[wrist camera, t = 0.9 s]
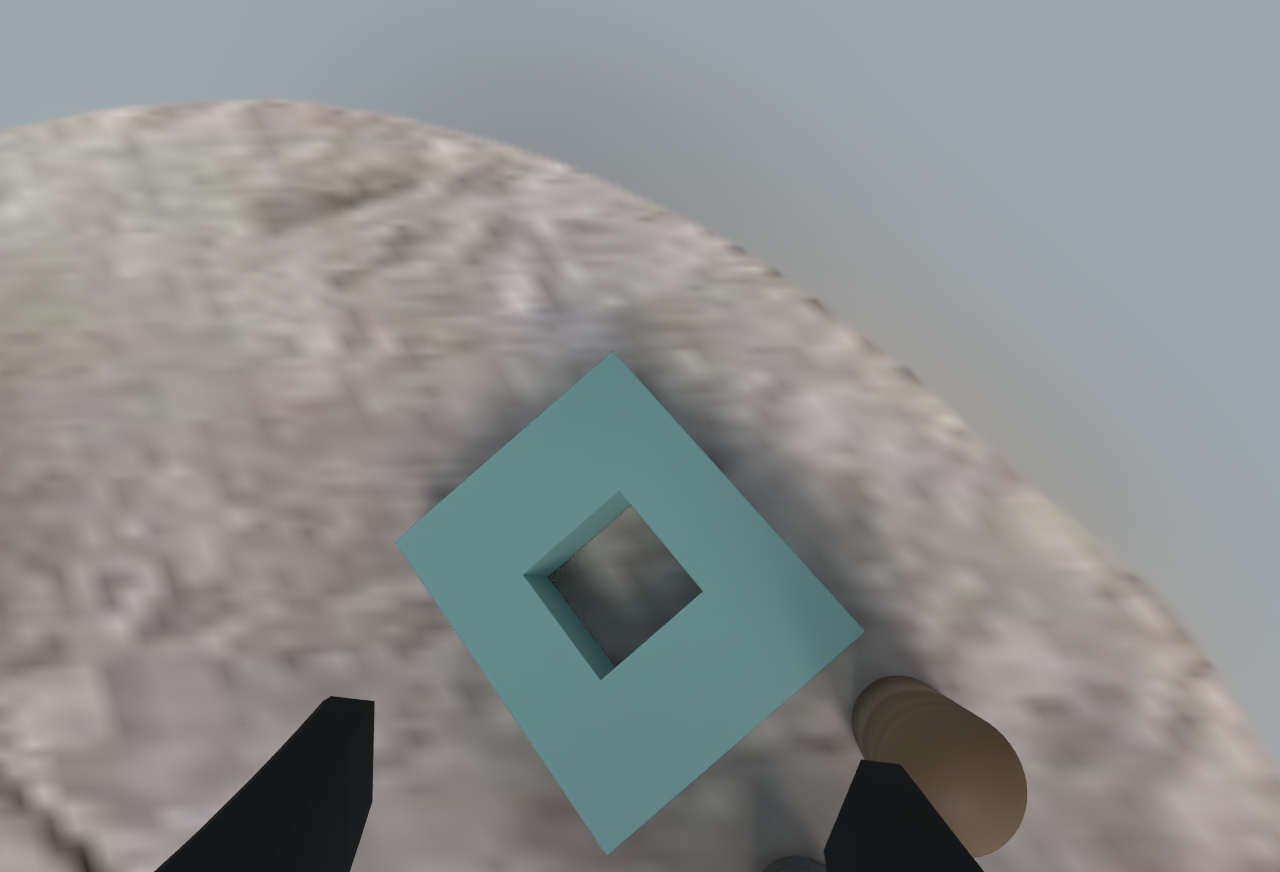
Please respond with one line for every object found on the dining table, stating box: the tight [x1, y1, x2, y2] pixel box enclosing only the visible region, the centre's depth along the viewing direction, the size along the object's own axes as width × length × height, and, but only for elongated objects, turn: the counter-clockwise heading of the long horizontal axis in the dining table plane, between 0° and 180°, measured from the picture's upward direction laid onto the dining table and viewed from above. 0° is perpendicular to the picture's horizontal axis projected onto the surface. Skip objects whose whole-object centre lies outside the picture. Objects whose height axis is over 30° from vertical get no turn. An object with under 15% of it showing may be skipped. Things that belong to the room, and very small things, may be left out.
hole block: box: [395, 351, 865, 855], centre depth 23 cm, size 12×10×2 cm
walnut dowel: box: [852, 676, 1027, 858], centre depth 18 cm, size 3×3×7 cm
